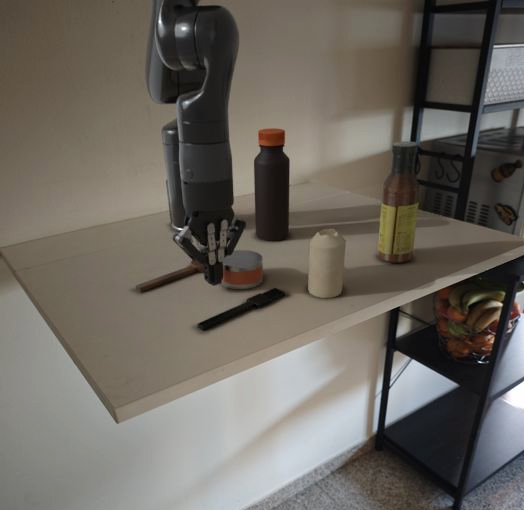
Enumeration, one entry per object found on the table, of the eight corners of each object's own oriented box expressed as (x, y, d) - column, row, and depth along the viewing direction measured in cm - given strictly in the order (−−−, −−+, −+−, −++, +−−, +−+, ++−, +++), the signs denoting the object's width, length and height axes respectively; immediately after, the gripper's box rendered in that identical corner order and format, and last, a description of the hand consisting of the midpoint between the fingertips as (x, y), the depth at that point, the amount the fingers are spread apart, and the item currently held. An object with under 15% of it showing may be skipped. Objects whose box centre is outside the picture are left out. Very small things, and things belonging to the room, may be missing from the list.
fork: (205, 332, 71) (205, 328, 71) (194, 326, 73) (194, 321, 72) (285, 295, 80) (286, 291, 80) (274, 290, 82) (274, 286, 81)
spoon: (145, 295, 81) (144, 289, 80) (131, 286, 84) (130, 281, 83) (220, 267, 90) (220, 261, 89) (205, 260, 92) (205, 254, 92)
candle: (340, 299, 78) (345, 239, 73) (305, 296, 80) (307, 236, 74) (343, 284, 83) (347, 226, 77) (310, 281, 84) (312, 224, 78)
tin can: (211, 280, 85) (210, 258, 83) (242, 267, 89) (242, 246, 87) (240, 293, 81) (239, 271, 79) (271, 279, 85) (271, 257, 83)
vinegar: (269, 244, 98) (268, 135, 87) (249, 234, 103) (245, 130, 92) (295, 236, 102) (297, 130, 91) (274, 227, 106) (274, 126, 95)
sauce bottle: (414, 254, 93) (432, 140, 82) (407, 266, 88) (426, 148, 77) (379, 248, 95) (393, 138, 84) (371, 261, 91) (384, 145, 80)
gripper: (226, 162, 78) (231, 265, 87) (153, 176, 71) (167, 288, 80) (258, 170, 73) (259, 278, 82) (183, 186, 66) (194, 303, 75)
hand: (214, 283), depth 81 cm, fingers closed
